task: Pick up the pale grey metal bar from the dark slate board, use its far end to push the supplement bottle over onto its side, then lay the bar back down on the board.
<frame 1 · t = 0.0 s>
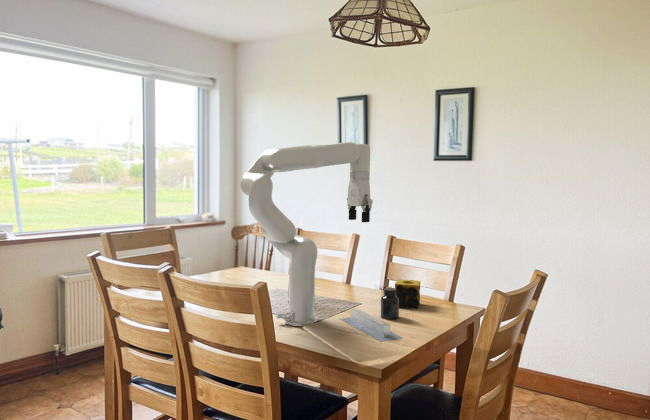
hand: (358, 220, 201), 37 cm above the table, tool pointing down, fingers open, 9 cm apart
supplement bottle: (389, 320, 197), on the table
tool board: (369, 331, 183), on the table
metal bar: (369, 327, 183), point 1 cm above the table, touching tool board
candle: (406, 306, 219), on the table
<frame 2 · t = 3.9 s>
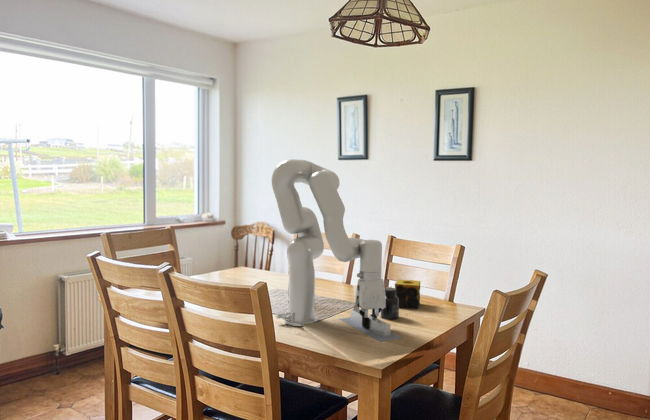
hand: (369, 326, 183), 2 cm above the table, tool pointing down, fingers closed on metal bar, 2 cm apart
metal bar: (369, 327, 183), point 1 cm above the table, touching gripper, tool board
everything else where it was.
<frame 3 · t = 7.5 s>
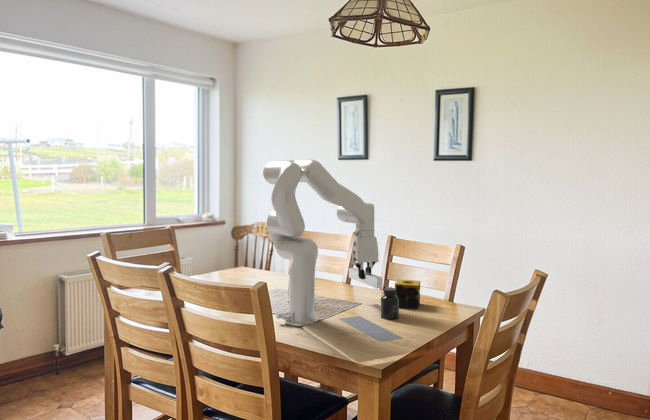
hand: (364, 277, 213), 12 cm above the table, tool pointing down, fingers closed on metal bar, 2 cm apart
metal bar: (364, 282, 213), point 11 cm above the table, touching gripper
everything else where it was.
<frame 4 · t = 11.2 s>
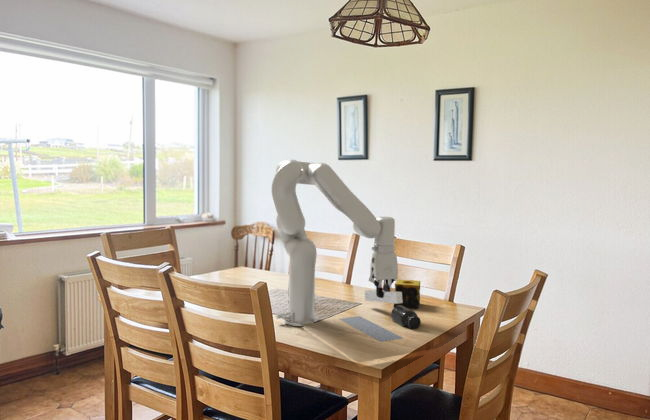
hand: (382, 296, 200), 8 cm above the table, tool pointing down, fingers closed on metal bar, 2 cm apart
supplement bottle: (398, 313, 194), point 3 cm above the table
metal bar: (383, 301, 200), point 6 cm above the table, tilted 10°, touching gripper
everything else where it was.
when the fingers open (3 cm above the table, at t = 17.4 s): metal bar stays where it is, resting on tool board.
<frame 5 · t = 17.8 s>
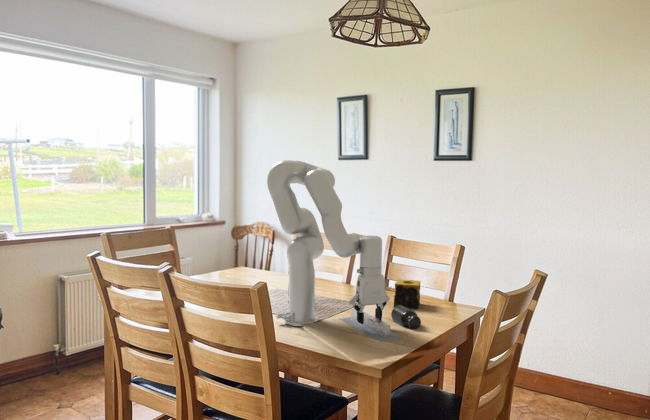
hand: (369, 321, 183), 4 cm above the table, tool pointing down, fingers open, 6 cm apart
metal bar: (369, 327, 183), point 1 cm above the table, touching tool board
everything else where it was.
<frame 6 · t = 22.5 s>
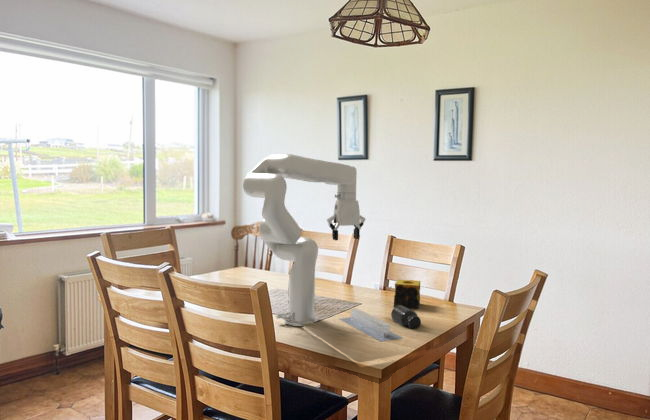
hand: (345, 239, 211), 28 cm above the table, tool pointing down, fingers open, 9 cm apart
nothing on the table moved.
at the end: supplement bottle tilted 91°; metal bar inside the target area on the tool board (0.1 cm from its centre), point 1.2 cm above the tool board's base; the gripper is holding nothing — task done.
